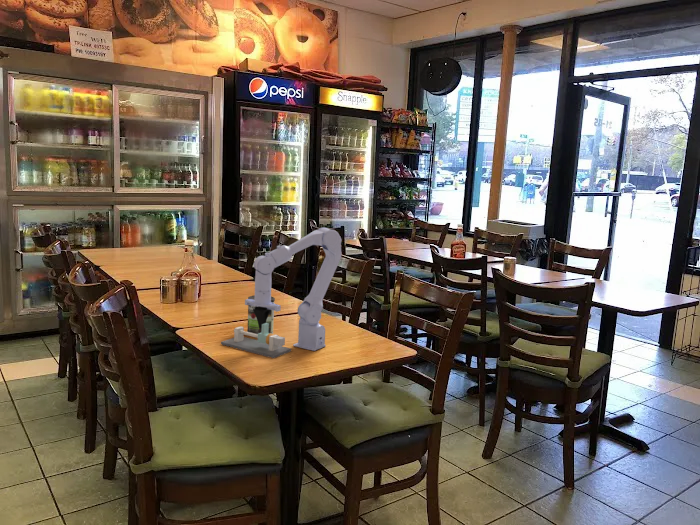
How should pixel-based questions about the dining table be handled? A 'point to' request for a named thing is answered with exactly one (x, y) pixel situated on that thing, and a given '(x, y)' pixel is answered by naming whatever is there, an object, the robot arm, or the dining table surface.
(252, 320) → the coffee can
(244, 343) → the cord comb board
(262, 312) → the robot arm
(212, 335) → the dining table surface
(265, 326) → the sleeve
